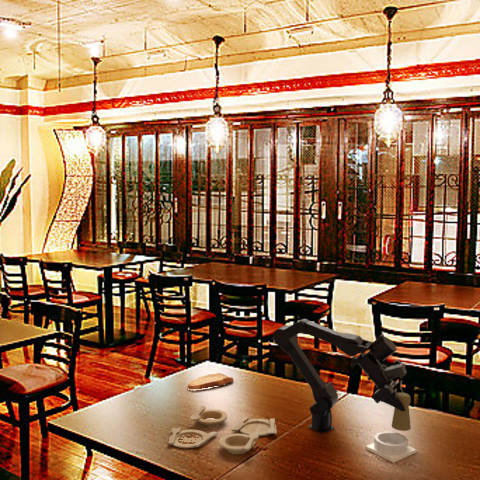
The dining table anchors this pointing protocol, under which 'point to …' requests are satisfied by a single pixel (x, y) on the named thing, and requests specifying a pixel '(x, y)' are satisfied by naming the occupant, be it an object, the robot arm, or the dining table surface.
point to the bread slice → (210, 381)
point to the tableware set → (229, 442)
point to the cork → (402, 414)
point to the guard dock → (389, 457)
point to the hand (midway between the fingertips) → (406, 407)
